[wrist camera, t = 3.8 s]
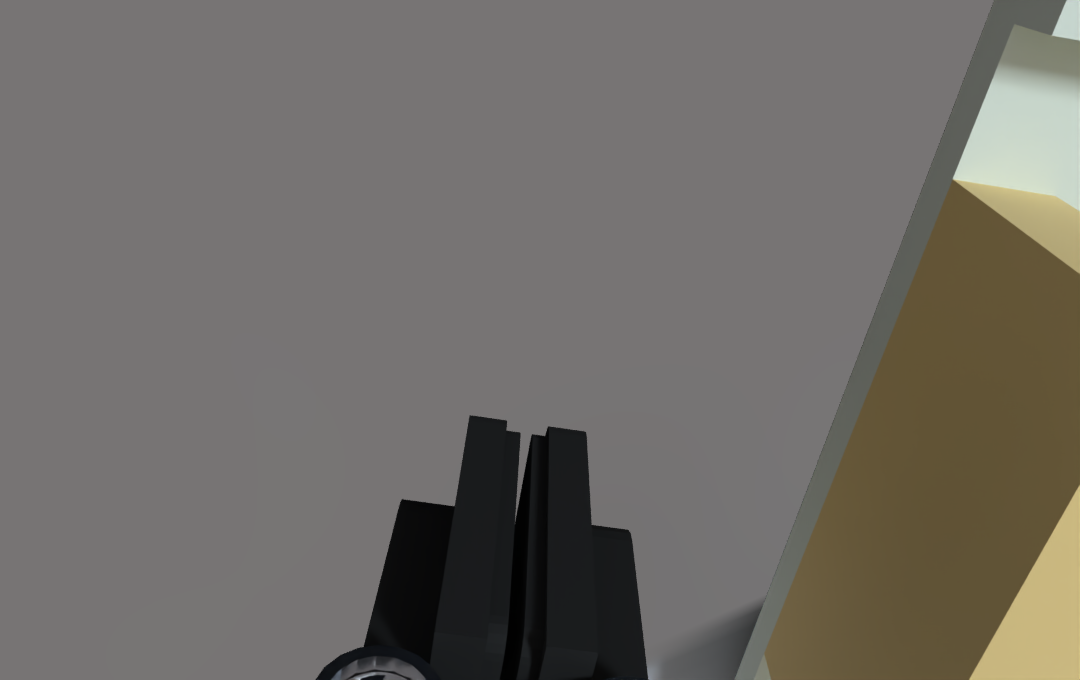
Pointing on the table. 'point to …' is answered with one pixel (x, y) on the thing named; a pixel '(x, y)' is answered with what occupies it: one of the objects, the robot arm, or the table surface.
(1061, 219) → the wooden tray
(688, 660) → the table surface
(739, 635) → the table surface
